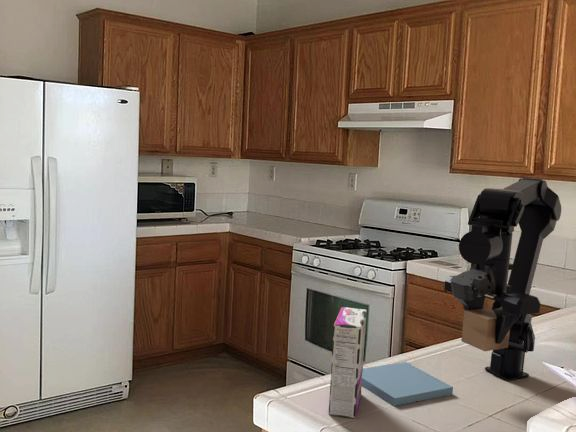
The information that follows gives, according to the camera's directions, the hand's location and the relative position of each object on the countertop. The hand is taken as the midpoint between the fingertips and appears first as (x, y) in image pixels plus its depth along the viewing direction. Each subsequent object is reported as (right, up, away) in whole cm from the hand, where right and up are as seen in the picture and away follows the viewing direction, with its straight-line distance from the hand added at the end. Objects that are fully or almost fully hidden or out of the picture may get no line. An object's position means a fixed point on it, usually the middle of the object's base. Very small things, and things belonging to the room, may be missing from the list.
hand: (485, 338), depth 120 cm
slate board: (-15, -10, +3) cm, 19 cm away
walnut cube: (0, -1, 0) cm, 1 cm away
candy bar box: (-27, -11, -6) cm, 30 cm away
